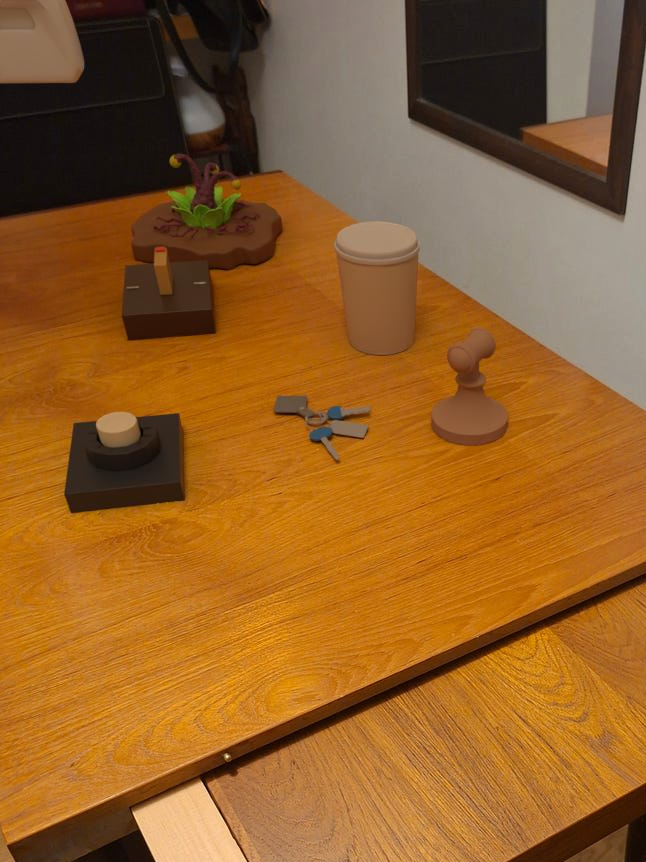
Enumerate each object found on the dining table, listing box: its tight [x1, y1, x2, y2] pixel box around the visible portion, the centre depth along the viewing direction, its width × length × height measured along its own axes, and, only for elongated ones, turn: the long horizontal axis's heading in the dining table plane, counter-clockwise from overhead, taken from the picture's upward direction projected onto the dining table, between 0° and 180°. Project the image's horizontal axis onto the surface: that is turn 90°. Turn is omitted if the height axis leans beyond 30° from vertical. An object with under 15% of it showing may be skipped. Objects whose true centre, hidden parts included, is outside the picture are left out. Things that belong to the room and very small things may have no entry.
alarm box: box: [63, 412, 186, 514], centre depth 85 cm, size 10×12×4 cm
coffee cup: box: [333, 220, 421, 356], centre depth 102 cm, size 9×9×12 cm
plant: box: [130, 152, 283, 271], centre depth 121 cm, size 20×20×11 cm
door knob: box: [430, 326, 509, 446], centre depth 91 cm, size 8×10×8 cm
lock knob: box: [153, 247, 173, 295], centre depth 107 cm, size 5×1×4 cm, turn 13°
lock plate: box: [121, 260, 217, 341], centre depth 109 cm, size 10×14×3 cm
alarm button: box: [96, 411, 141, 448], centre depth 83 cm, size 4×4×2 cm
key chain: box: [273, 395, 372, 461], centre depth 93 cm, size 14×8×1 cm, turn 40°
